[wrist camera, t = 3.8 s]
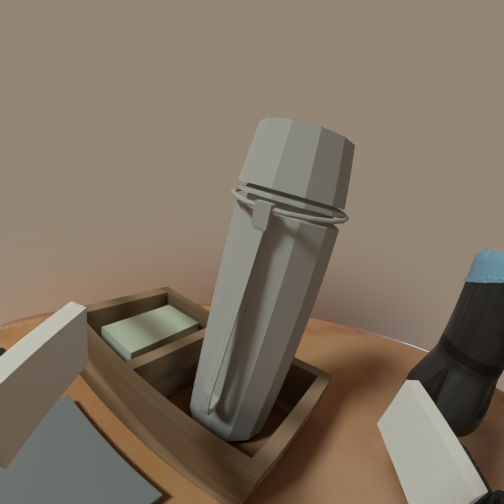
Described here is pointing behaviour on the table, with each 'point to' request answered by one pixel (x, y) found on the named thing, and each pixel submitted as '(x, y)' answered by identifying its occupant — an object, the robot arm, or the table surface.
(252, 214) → the water bottle
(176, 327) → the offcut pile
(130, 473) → the slate mat
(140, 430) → the walnut divided tray
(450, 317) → the robot arm
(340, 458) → the table surface
